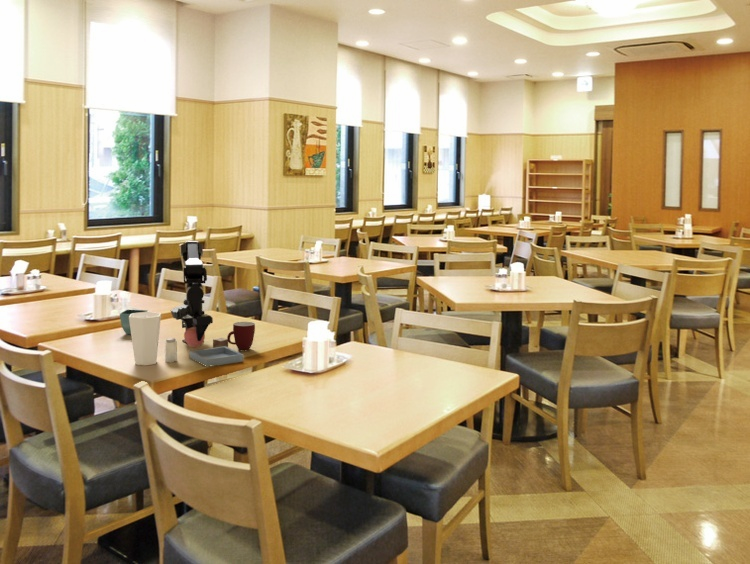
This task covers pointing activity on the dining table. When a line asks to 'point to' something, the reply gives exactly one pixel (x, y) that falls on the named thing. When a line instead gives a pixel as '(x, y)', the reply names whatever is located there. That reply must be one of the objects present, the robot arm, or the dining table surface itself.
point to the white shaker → (170, 350)
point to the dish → (216, 356)
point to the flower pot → (125, 319)
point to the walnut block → (220, 342)
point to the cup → (145, 336)
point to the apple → (192, 337)
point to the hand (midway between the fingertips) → (194, 338)
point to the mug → (242, 335)
